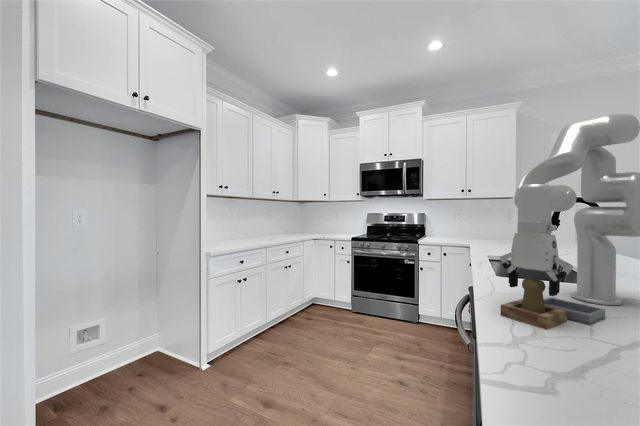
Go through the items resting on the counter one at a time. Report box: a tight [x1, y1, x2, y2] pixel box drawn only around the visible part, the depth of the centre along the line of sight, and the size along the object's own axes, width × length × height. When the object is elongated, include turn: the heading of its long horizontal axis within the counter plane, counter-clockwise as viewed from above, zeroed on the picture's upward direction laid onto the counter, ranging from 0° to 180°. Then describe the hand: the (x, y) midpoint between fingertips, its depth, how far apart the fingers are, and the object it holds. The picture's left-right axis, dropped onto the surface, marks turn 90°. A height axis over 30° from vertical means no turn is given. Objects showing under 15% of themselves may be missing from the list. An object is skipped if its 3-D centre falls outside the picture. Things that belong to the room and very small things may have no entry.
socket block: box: [500, 299, 568, 330], centre depth 80 cm, size 11×11×3 cm
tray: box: [543, 296, 606, 326], centre depth 84 cm, size 11×13×2 cm
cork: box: [521, 277, 546, 314], centre depth 80 cm, size 6×6×11 cm
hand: (532, 290), depth 80 cm, fingers open, 9 cm apart
